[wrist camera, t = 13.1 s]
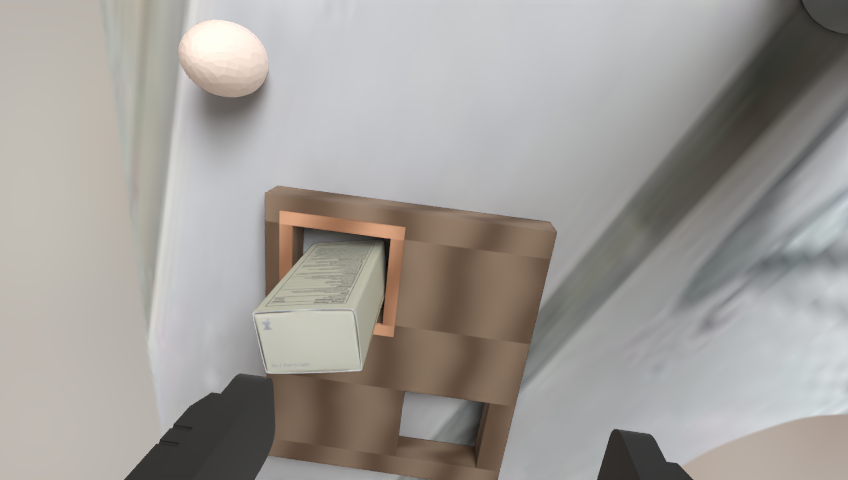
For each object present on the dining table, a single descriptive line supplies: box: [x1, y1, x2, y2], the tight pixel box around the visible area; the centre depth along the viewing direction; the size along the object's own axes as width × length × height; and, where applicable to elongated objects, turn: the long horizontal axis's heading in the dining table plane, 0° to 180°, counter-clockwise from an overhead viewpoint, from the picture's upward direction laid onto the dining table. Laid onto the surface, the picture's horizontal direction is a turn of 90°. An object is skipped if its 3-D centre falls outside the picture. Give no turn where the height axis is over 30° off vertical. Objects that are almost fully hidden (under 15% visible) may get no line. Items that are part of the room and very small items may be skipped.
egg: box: [178, 20, 268, 97], centre depth 28 cm, size 5×5×7 cm
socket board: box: [265, 186, 557, 480], centre depth 37 cm, size 22×26×3 cm
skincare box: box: [252, 241, 387, 374], centre depth 31 cm, size 6×4×12 cm
